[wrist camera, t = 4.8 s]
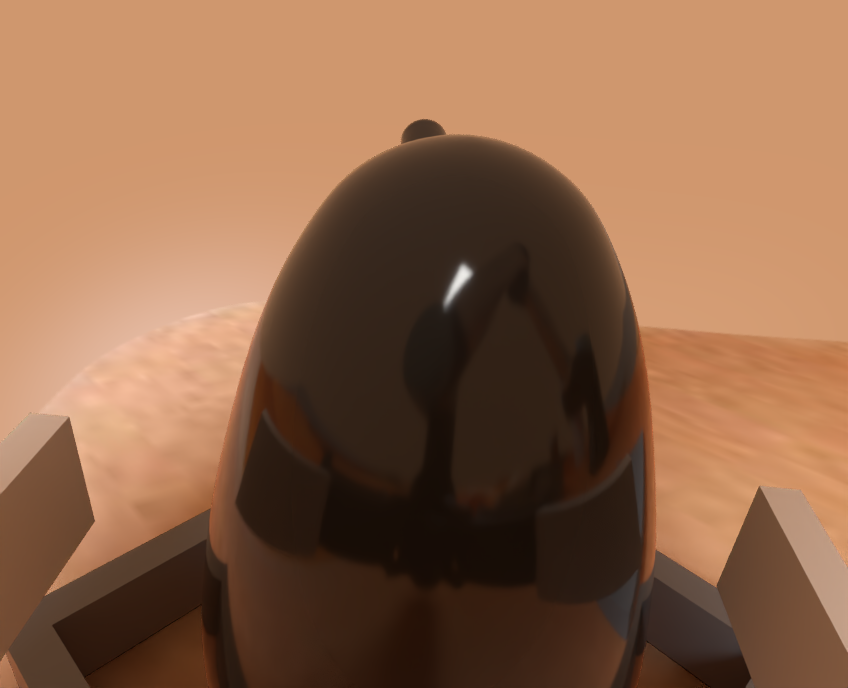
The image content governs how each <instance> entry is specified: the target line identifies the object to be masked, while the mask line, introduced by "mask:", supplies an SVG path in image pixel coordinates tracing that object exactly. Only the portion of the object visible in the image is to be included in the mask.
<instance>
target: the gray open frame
mask: <svg viewBox="0 0 848 688" xmlns="http://www.w3.org/2000/svg"><path fill="white" fill-rule="evenodd" d="M210 511H211V509H209V510H207V511H205V512H203V513H201V514H199V515H197V516H195V517H194V518H192V519H190V520H188V521H186V522H184V523H182V524H180V525H178V526H176V527H175V528H173V529H171V530H169V531H167V532H165V533H163V534H161V535H159V536H158V537H156V538H154V539H152V540H150V541H148V542H146V543H144V544H142V545H140V546H139V547H137V548H135V549H133V550H131V551H129V552H127V553H125V554H123V555H122V556H120V557H118V558H116V559H114V560H112V561H110V562H108V563H106V564H105V565H103V566H101V567H99V568H97V569H95V570H93V571H91V572H89V573H87V574H86V575H84V576H82V577H80V578H78V579H76V580H74V581H72V582H70V583H69V584H67V585H65V586H63V587H61V588H59V589H57V590H55V591H53V592H51V593H50V594H48V595H46V596H44V597H43V599H42V600H41V602H40V603H39V605H38V606H37V607H36V609H35V610H34V612H33V613H32V615H31V616H30V618H29V619H28V621H27V622H26V624H25V625H24V627H23V628H22V630H21V631H20V633H19V634H18V636H17V637H16V639H15V640H14V641H13V643H12V644H11V646H10V647H9V649H8V650H7V652H6V655H7V657H8V660H9V663H10V665H11V668H12V670H13V673H14V675H15V678H16V681H17V683H18V685H19V687H20V688H90V687H89V685H88V683H87V682H86V680H85V678H84V677H85V676H87V675H88V674H90V673H92V672H93V671H95V670H96V669H98V668H100V667H101V666H103V665H104V664H106V663H108V662H109V661H111V660H112V659H114V658H116V657H117V656H119V655H121V654H122V653H124V652H125V651H127V650H129V649H130V648H132V647H133V646H135V645H137V644H138V643H140V642H141V641H143V640H145V639H146V638H148V637H149V636H151V635H153V634H154V633H156V632H157V631H159V630H161V629H162V628H164V627H165V626H167V625H169V624H170V623H172V622H173V621H175V620H177V619H178V618H180V617H181V616H183V615H185V614H186V613H188V612H190V611H191V610H193V609H194V608H196V607H198V606H199V605H201V604H202V589H203V576H204V564H205V553H206V543H207V534H208V525H209V518H210ZM646 641H648V642H649V643H650V644H652V645H653V646H654V647H656V648H657V649H659V650H660V651H661V652H663V653H664V654H666V655H667V656H668V657H670V658H671V659H672V660H674V661H675V662H677V663H678V664H679V665H681V666H682V667H683V668H685V669H686V670H688V671H689V672H690V673H692V674H693V675H695V676H696V677H697V678H699V679H700V680H701V681H703V682H704V683H706V684H707V685H708V686H710V687H711V688H755V686H754V684H753V681H752V678H751V676H750V673H749V670H748V668H747V665H746V662H745V660H744V657H743V654H742V652H741V649H740V646H739V644H738V641H737V639H736V636H735V633H734V631H733V628H732V625H731V623H730V620H729V617H728V615H727V612H726V609H725V607H724V604H723V601H722V599H721V596H720V593H719V591H718V589H717V588H716V587H714V586H713V585H711V584H709V583H708V582H706V581H705V580H703V579H701V578H700V577H698V576H697V575H695V574H694V573H692V572H690V571H689V570H687V569H686V568H684V567H682V566H681V565H679V564H678V563H676V562H675V561H673V560H671V559H670V558H668V557H667V556H665V555H663V554H662V553H660V552H659V551H657V550H656V551H655V569H654V581H653V592H652V601H651V609H650V617H649V625H648V632H647V639H646Z"/></svg>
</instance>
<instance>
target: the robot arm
mask: <svg viewBox="0 0 848 688" xmlns="http://www.w3.org/2000/svg"><path fill="white" fill-rule="evenodd" d="M94 522H95V520H94V516H93V512H92V508H91V504H90V500H89V495H88V491H87V487H86V483H85V479H84V475H83V471H82V467H81V463H80V459H79V455H78V451H77V446H76V442H75V438H74V434H73V430H72V426H71V422H70V418H69V417H68V416H58V415H48V414H38V413H29V414H28V415H27V416H26V417H25V418H24V419H23V420H22V421H21V422H20V423H19V424H18V426H17V427H16V428H15V429H14V430H13V431H12V432H11V433H10V434H9V435H8V436H7V437H6V438H5V439H4V440H3V441H2V442H1V443H0V661H1V659H2V658H3V656H4V655H5V653H6V652H7V650H8V649H9V647H10V646H11V644H12V643H13V641H14V640H15V639H16V637H17V636H18V634H19V633H20V631H21V630H22V628H23V627H24V625H25V624H26V622H27V621H28V619H29V618H30V616H31V615H32V613H33V612H34V610H35V609H36V607H37V606H38V605H39V603H40V602H41V600H42V599H43V597H44V596H45V594H46V593H47V591H48V590H49V588H50V587H51V585H52V584H53V582H54V581H55V579H56V578H57V576H58V575H59V573H60V572H61V570H62V569H63V568H64V566H65V565H66V563H67V562H68V560H69V559H70V557H71V556H72V554H73V553H74V551H75V550H76V548H77V547H78V545H79V544H80V542H81V541H82V539H83V538H84V536H85V535H86V533H87V532H88V531H89V529H90V528H91V526H92V525H93V523H94ZM717 588H718V591H719V593H720V596H721V599H722V601H723V604H724V607H725V609H726V612H727V615H728V617H729V620H730V623H731V625H732V628H733V631H734V633H735V636H736V639H737V641H738V644H739V646H740V649H741V652H742V654H743V657H744V660H745V662H746V665H747V668H748V670H749V673H750V676H751V678H752V681H753V684H754V686H755V688H848V567H847V566H846V564H845V562H844V561H843V559H842V557H841V556H840V554H839V552H838V551H837V549H836V547H835V546H834V544H833V542H832V541H831V539H830V537H829V536H828V534H827V532H826V531H825V529H824V527H823V526H822V524H821V522H820V521H819V519H818V517H817V516H816V514H815V512H814V511H813V509H812V507H811V506H810V504H809V502H808V501H807V499H806V498H805V496H804V494H803V493H802V491H801V490H797V489H787V488H777V487H767V486H759V488H758V490H757V493H756V495H755V497H754V500H753V502H752V504H751V507H750V509H749V511H748V514H747V516H746V518H745V521H744V523H743V525H742V528H741V530H740V532H739V535H738V537H737V539H736V542H735V544H734V546H733V549H732V551H731V553H730V556H729V558H728V560H727V563H726V565H725V567H724V570H723V572H722V574H721V577H720V579H719V581H718V584H717Z"/></svg>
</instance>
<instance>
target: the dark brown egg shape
mask: <svg viewBox="0 0 848 688" xmlns="http://www.w3.org/2000/svg"><path fill="white" fill-rule="evenodd" d="M655 551H656V483H655V459H654V440H653V426H652V413H651V402H650V392H649V383H648V376H647V369H646V363H645V357H644V352H643V346H642V341H641V336H640V331H639V326H638V322H637V318H636V314H635V310H634V306H633V302H632V299H631V295H630V292H629V289H628V286H627V283H626V280H625V277H624V274H623V271H622V269H621V266H620V263H619V261H618V258H617V256H616V253H615V251H614V248H613V246H612V243H611V241H610V239H609V236H608V234H607V232H606V230H605V228H604V226H603V224H602V222H601V221H600V218H599V217H598V215H597V213H596V212H595V210H594V208H593V207H592V205H591V204H590V203H589V201H588V200H587V199H586V197H585V196H584V195H583V193H582V192H581V191H580V190H579V189H578V188H577V187H576V186H575V185H574V184H573V183H572V182H571V181H570V180H569V179H568V178H567V177H566V176H565V175H563V174H562V173H561V172H560V171H559V170H557V169H556V168H555V167H553V166H552V165H550V164H549V163H547V162H546V161H545V160H543V159H541V158H540V157H538V156H536V155H534V154H533V153H531V152H529V151H526V150H524V149H522V148H520V147H518V146H515V145H512V144H510V143H506V142H504V141H500V140H497V139H492V138H487V137H482V136H474V135H446V133H445V131H444V129H443V128H442V126H441V125H439V124H438V123H437V122H435V121H432V120H428V119H422V120H417V121H414V122H413V123H411V124H410V125H408V127H407V128H406V129H405V130H404V132H403V134H402V138H401V145H398V146H395V147H393V148H391V149H389V150H386V151H384V152H382V153H380V154H378V155H376V156H374V157H373V158H371V159H369V160H368V161H366V162H364V163H363V164H361V165H360V166H359V167H357V168H356V169H355V170H353V171H352V172H351V173H350V174H348V175H347V176H346V177H345V178H344V179H343V180H342V181H341V182H340V183H339V184H338V185H337V186H336V187H335V189H333V191H332V192H331V193H330V194H329V195H328V197H327V198H326V199H325V200H324V202H323V203H322V204H321V206H320V207H319V209H318V210H317V211H316V213H315V214H314V216H313V217H312V219H311V220H310V221H309V223H308V224H307V226H306V228H305V229H304V231H303V232H302V234H301V236H300V237H299V239H298V240H297V242H296V244H295V245H294V247H293V249H292V251H291V252H290V254H289V256H288V258H287V260H286V261H285V263H284V265H283V267H282V269H281V271H280V273H279V275H278V277H277V280H276V281H275V284H274V286H273V288H272V291H271V293H270V295H269V297H268V300H267V302H266V305H265V307H264V309H263V312H262V314H261V317H260V319H259V322H258V325H257V327H256V330H255V333H254V336H253V338H252V341H251V344H250V348H249V351H248V354H247V357H246V360H245V364H244V367H243V370H242V374H241V378H240V381H239V385H238V389H237V392H236V396H235V400H234V404H233V408H232V412H231V416H230V420H229V424H228V428H227V432H226V436H225V440H224V445H223V449H222V453H221V458H220V462H219V467H218V472H217V477H216V482H215V487H214V493H213V498H212V505H211V511H210V518H209V525H208V534H207V543H206V553H205V564H204V576H203V589H202V609H201V630H202V646H203V657H204V665H205V671H206V677H207V682H208V687H209V688H637V686H638V682H639V678H640V674H641V669H642V664H643V658H644V653H645V646H646V639H647V632H648V625H649V617H650V609H651V601H652V592H653V581H654V569H655Z"/></svg>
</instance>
